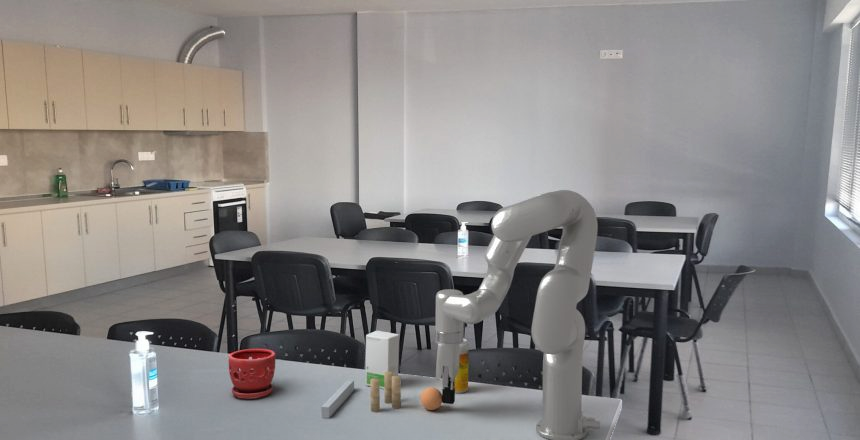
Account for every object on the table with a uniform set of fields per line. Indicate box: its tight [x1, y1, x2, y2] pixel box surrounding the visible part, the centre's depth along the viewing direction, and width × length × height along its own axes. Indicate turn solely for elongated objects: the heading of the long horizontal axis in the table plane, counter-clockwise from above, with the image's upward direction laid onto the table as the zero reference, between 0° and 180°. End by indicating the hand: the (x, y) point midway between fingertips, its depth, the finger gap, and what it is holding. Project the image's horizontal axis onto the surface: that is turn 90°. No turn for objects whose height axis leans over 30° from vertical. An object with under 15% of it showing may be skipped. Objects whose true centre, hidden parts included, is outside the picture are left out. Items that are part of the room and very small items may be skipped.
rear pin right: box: [384, 371, 393, 404], centre depth 194 cm, size 2×2×8 cm
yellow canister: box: [453, 338, 469, 394], centre depth 202 cm, size 6×6×15 cm
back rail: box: [321, 379, 355, 419], centre depth 193 cm, size 2×22×3 cm, turn 169°
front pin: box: [391, 374, 402, 410], centre depth 190 cm, size 2×2×8 cm
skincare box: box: [364, 330, 400, 390], centre depth 208 cm, size 8×7×16 cm
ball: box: [419, 386, 443, 411], centre depth 188 cm, size 6×6×6 cm
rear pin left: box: [370, 378, 381, 413], centre depth 187 cm, size 2×2×8 cm
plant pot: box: [228, 348, 276, 400], centre depth 201 cm, size 13×13×12 cm
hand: (448, 402), depth 188 cm, fingers closed
